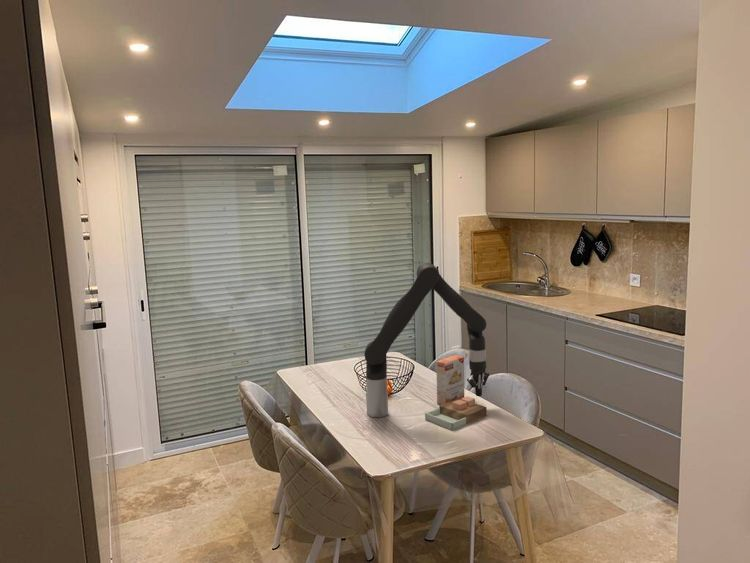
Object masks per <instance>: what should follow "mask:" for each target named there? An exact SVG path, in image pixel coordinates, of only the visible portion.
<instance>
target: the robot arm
mask: <svg viewBox="0 0 750 563" xmlns="http://www.w3.org/2000/svg"><path fill="white" fill-rule="evenodd" d="M432 290H433V291H434V292H436V293H437V295H438V296H439V297H440V298H441V300H443V301H444V302H445V304H446V305H447V306H448V307H449V308H450V309H451V310H452V311H453V312H454V313H455V314H456V315H457V316H458V317H459V318H460V319H462V320H463V321H464V322H465V323H466V330H467V334H468V339H469V340H468V341H469V342H468V344H469V346H468V347H469V351H468V358H469V359H468V361H469V362H468V363H469V366H468V367H469V369H470V377H469V378H468V377H467V379H466V381H467V382H468V384H469V386H470V387H471V388H474V389H475V390H474V391H475V393H474V394H475V396H476V397H482V395H483V387H484V386H485V385H486V383H487V381H488V378H489V377H490V373H489V372H487V371H486V369H487V352H486V339H485V336H484V334H483V332H484V331H485V329H486V328H487V321H486V319H485V318H484V316H482V315H481V314H480V313H479V312H478V311H477V310H475V309H474V308H473V307H472V306H471V305H470V304H469V303H468V301H467V300H466V299H464V297H462V296H461V295H460V294H459V293H458V292H457V291H456V290H455V289H454V288H453V287H452V286H450V285H449V283H448V282H447V281H446V280H445V279H444V277H443V276H442V275H441V274H440V271H439V270H438V269H437V266H435V265H434V264H433V263H431V262H423V263H420V265H418V267H417V268H416V279H415V281H414V282H413V284H412V286H411V287H410V288H409V290H408V291H407V292H406V293H405V294H404V295H403V296H402V297H400V299H399V300H397V302H396V303H395V305H394V306H393V307H392V308H391V311H390V312H389V313H388V314H387V315H388V316H387V317H386V318H385V320H384V322H383V325H382V327H381V328H380V331H379V333H378V334H377V336H375V338H374V339H373V340H371V341H370V342H369V343H368V344H367V345H366V347H365V350H364V360H365V362H366V365H365V366H366V369H365V376H366V377H365V379H366V380H365V381H366V393H365V395H366V396H365V400H366V402H365V403H366V414H368V416H370V417H371V418H383V417H386V416H388V415H389V397H388V395H389V392H388V377H387V375H388V365H387V364H388V361H387V354H388V352H389V350H390V348H391V347H392V346H393V343H394V342H395V341H396V339H397V338H398V337H399V335H400V334H402V332H403V331H404V329H405V328H406V327H407V326H408V324H409V323H410V321H411V320H412V318H413V317H414V315H415V314H416V312H417V310H418V309H419V307H420V306H421V304H422V303H423V300H424V299H425V298H426V296H427V295H428V294H429V293H430V292H431V291H432Z"/></svg>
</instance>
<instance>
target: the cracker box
mask: <svg viewBox="0 0 750 563" xmlns="http://www.w3.org/2000/svg"><path fill="white" fill-rule="evenodd" d="M435 363H436V367H435V368H436V370H435V372H436V404H438V405H442V404H445V403H447V402H450V401H453V400H455V399H458V398H461V399H462V398H464V397H465V357H464V356H461V355H457V354H454V355H452V356H448V357H446V358H442V359H440V360H436V362H435Z"/></svg>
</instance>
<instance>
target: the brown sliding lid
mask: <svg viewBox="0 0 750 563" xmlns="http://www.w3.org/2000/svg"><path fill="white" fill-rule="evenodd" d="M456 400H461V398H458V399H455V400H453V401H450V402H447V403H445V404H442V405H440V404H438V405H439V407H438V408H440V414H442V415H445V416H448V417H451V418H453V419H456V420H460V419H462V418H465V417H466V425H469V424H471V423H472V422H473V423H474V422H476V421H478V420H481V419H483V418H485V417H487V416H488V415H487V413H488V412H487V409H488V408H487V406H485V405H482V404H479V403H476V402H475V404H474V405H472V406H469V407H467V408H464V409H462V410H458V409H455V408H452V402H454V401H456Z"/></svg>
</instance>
